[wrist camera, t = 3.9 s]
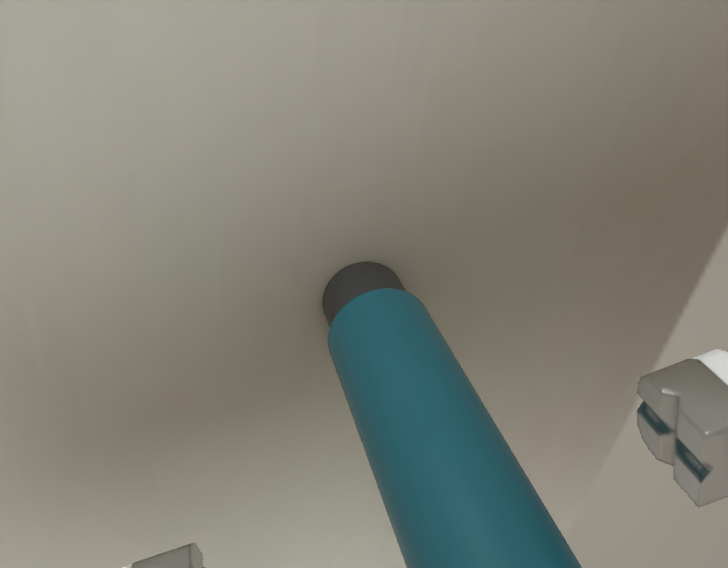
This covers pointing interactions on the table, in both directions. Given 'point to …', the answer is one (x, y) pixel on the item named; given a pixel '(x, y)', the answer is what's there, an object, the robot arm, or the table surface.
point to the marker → (431, 435)
